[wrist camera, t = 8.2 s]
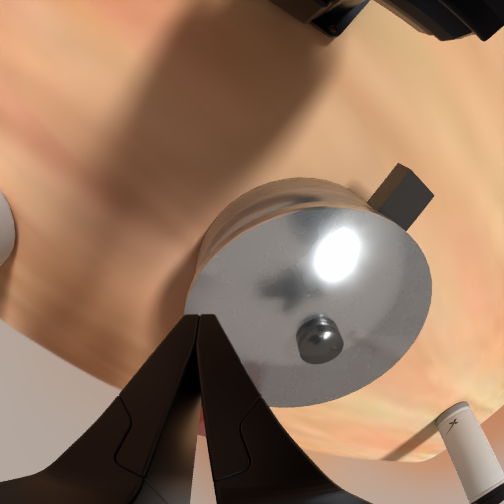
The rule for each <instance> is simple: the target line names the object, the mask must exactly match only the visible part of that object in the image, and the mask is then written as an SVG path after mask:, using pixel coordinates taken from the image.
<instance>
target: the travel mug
mask: <svg viewBox="0 0 504 504" xmlns="http://www.w3.org/2000/svg"><path fill="white" fill-rule="evenodd" d="M436 426H437V428H438V430H439V432H440V434H441V437H442V439H443V441H444V443H445V445H446V448H447V450H448V452H449V454H450V456H451V459H452V461H453V464H454V466H455V468H456V471H457V473H458V475H459V478H460V480H461V483H462V485H463V488H464V490H465V493H466V495H467V498H468V500H470V502H469V503H470V504H499V503H501V502H502V501H503V500H504V473H503V471H502V469H501V467H500V465H499V463H498V460H497V458H496V456H495V454H494V452H493V450H492V448H491V446H490V444H489V442H488V440H487V438H486V436H485V434H484V432H483V430H482V428H481V427H480V425H479V423H478V421H477V419H476V417H475V415H474V413H473V412H472V410H471V408H470V406H469V404H468V403H467V402H460V403H458V404H455V405H453V406H452V407H450V408H449V409H447V410H446V411H445V412H443V413H442V414H441V415H440V416H439V417H438V419H437V421H436Z"/></svg>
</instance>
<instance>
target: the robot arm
mask: <svg viewBox="0 0 504 504" xmlns="http://www.w3.org/2000/svg"><path fill="white" fill-rule="evenodd" d="M269 1H270V2H272V3H274V4H275V5H277V6H278V7H280V8H281V9H283V10H285V11H286V12H288V13H289V14H291V15H292V16H294V17H295V18H296V19H298V20H299V21H301V22H302V23H311V24H312V25H313V26H315V27H316V28H317V29H319V30H320V31H321V32H323V33H324V34H325V35H327V36H328V37H331V38H335V37H338V36H339V35H340V34H341V33H342V32H343V31H344V30H345V29H346V27H347V26H348V25H349V24H350V23H351V22H352V20H353V19H354V18H355V17H356V16H357V15H358V14H359V12H360V11H361V10H362V9H363V8H364V7H365V6H366V4H367V3H368V2H369V1H370V0H269ZM374 1H376V2H377V3H379V4H380V5H382V6H383V7H385V8H386V9H388V10H389V11H391V12H392V13H394V14H395V15H397V16H398V17H400V18H401V19H402V20H404V21H405V22H406V23H408V24H409V25H411V26H412V27H413V28H415V29H416V30H417V31H418V32H422V33H425V34H428V35H434V36H435V37H436V38H437V39H438V40H440V41H448V40H455V39H461V38H464V37H467V36H469V35H473V34H476V35H477V36H478V37H479V38H480V40H482V41H486V40H488V39H489V38H490V37H491V36H492V35H494V34H495V33H496V32H497V31H498V30H499V29H500V28H502V27H503V26H504V0H374ZM330 27H334V28H335V29H336V32H335V33H332V32H331V31H330ZM201 402H202V409H203V417H204V425H205V432H206V439H207V446H208V453H209V459H210V465H211V471H212V478H213V482H214V489H215V495H216V501H217V504H372V503H370V502H368V501H366V500H363V499H361V498H359V497H357V496H355V495H353V494H351V493H349V492H347V491H345V490H344V489H342V488H341V487H339V486H338V485H336V484H335V483H334V482H333V481H332V480H331V479H329V478H328V477H327V476H326V475H325V474H324V473H323V472H322V471H321V470H320V468H319V467H318V466H317V465H316V464H315V463H314V462H313V461H312V460H311V459H310V458H309V457H308V456H307V454H305V453H304V451H303V450H302V449H301V448H300V447H299V446H298V445H297V443H296V442H295V441H294V440H293V439H292V438H291V436H290V435H289V434H288V433H287V432H286V430H285V429H284V428H283V427H282V425H281V424H280V423H279V421H278V420H277V418H276V417H275V415H274V414H273V412H272V411H271V409H270V408H269V406H268V405H267V403H266V401H265V400H264V398H262V395H261V393H260V392H259V390H258V388H257V387H256V385H255V383H254V382H253V380H252V378H251V377H250V375H249V373H248V371H247V370H246V368H245V366H244V365H243V363H242V361H241V359H240V358H239V356H238V354H237V352H236V351H235V349H234V347H233V345H232V344H231V342H230V340H229V338H228V336H227V335H226V333H225V331H224V329H223V327H222V326H221V324H220V322H219V320H218V318H217V317H216V315H215V314H201V315H200V316H199V315H198V314H185V315H184V316H183V317H182V318H181V319H180V320H179V322H178V323H177V324H176V325H175V327H174V328H173V329H172V330H171V331H170V333H169V334H168V335H167V336H166V337H165V339H164V340H163V341H162V342H161V343H160V345H159V346H158V347H157V348H156V350H155V351H154V352H153V353H152V354H151V356H150V357H149V358H148V359H147V361H146V362H145V363H144V364H143V365H142V367H141V368H140V369H139V370H138V372H137V373H136V374H135V375H134V376H133V378H132V379H131V380H130V381H129V383H128V384H127V385H126V386H125V387H124V389H123V390H122V391H121V392H120V394H119V396H117V397H116V398H115V400H114V401H113V402H112V403H111V405H110V406H109V407H108V408H107V409H106V410H105V412H104V413H103V414H102V415H101V416H100V417H99V418H98V420H97V421H96V422H95V423H94V424H93V425H92V426H91V427H90V428H89V429H88V430H87V431H86V432H85V433H84V434H83V435H82V436H81V437H80V438H79V439H78V440H77V441H76V442H74V444H72V445H71V447H69V448H68V449H67V450H66V451H65V452H64V453H63V454H62V455H61V456H60V457H59V458H58V459H57V460H56V461H55V462H53V463H52V464H51V465H50V466H48V467H47V468H45V469H44V470H42V471H40V472H38V473H36V474H34V475H30V476H26V477H22V478H18V479H13V480H8V481H3V482H0V504H190V497H191V486H192V478H193V469H194V460H195V451H196V443H197V434H198V426H199V418H200V410H201Z"/></svg>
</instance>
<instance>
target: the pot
mask: <svg viewBox="0 0 504 504" xmlns="http://www.w3.org/2000/svg"><path fill="white" fill-rule="evenodd" d="M433 197H434V195H433V193H432V192H431V191H430V190H429V189H428V188H427V187H426V186H425V184H424V183H423V182H422V181H421V180H420V179H419V178H418V177H417V176H416V175H415V174H414V173H413V171H412V170H411V169H409V168H407V167H405V166H403V165H401V164H399V163H398V164H397V165H396V166H395V168H394V169H393V170H392V171H391V173H390V174H389V175H388V176H387V178H386V179H385V180H384V182H383V183H382V184H381V185H380V187H379V188H378V189H377V190H376V192H375V193H374V194H373V195H372V197H371V198H370V199H369V200H368V202H367V203H366V202H365V201H364V200H363V199H362V198H361V197H359V196H358V195H357V194H355V193H354V192H352V191H351V190H349V189H347V188H345V187H343V186H341V185H339V184H336V183H333V182H330V181H327V180H321V179H316V178H289V179H282V180H278V181H274V182H270V183H267V184H264V185H262V186H259V187H256V188H254V189H252V190H251V191H249V192H247V193H245V194H243V195H242V196H240V197H239V198H237V199H236V200H235V201H233V202H232V203H231V204H229V205H228V206H227V207H226V208H225V209H224V210H223V211H222V212H221V213H220V214H219V215H218V217H217V218H216V219H215V220H214V222H213V223H212V224H211V226H210V228H209V229H208V231H207V233H206V234H205V236H204V239H203V241H202V244H201V246H200V250H199V254H198V258H197V264H196V271H195V275H196V273H197V271H198V269H199V268H200V266H201V264H202V263H203V262H204V261H205V259H206V258H207V257H208V256H209V254H210V253H211V252H212V251H213V250H214V249H215V248H216V247H217V246H218V245H219V244H220V243H221V242H222V241H223V240H224V239H225V238H226V237H228V236H229V235H231V234H232V233H233V232H235V231H236V230H238V229H239V228H240V227H242V226H243V225H245V224H247V223H249V222H251V221H252V220H254V219H256V218H258V217H260V216H262V215H265V214H267V213H270V212H272V211H275V210H278V209H280V208H284V207H288V206H292V205H296V204H300V203H308V202H317V201H339V202H346V203H352V204H358V205H361V206H364V207H367V208H370V209H373V210H376V211H377V212H379V213H381V214H383V215H385V216H387V217H389V218H390V219H391V220H393V221H394V222H395V223H397V224H398V225H399V226H400V227H401V228H403V229H404V230H405V231H407V230H408V228H409V227H410V226H411V225H412V224H413V222H414V221H415V220H416V219H417V217H418V216H419V215H420V214H421V212H422V211H423V210H424V209H425V207H426V206H427V205H428V203H429V202H430V201H431V200H432V198H433ZM201 407H202V402H201Z"/></svg>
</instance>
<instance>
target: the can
mask: <svg viewBox="0 0 504 504" xmlns="http://www.w3.org/2000/svg"><path fill="white" fill-rule="evenodd" d="M14 241H15V227H14V220H13V216H12V213H11V210H10V206H9V204H8V202H7V200H6V198H5V197H4V195H3V194H2V192H1V191H0V266H1V265H2V264H3V263H4V262H5V261H6V260H7V259H8V258H9V256H10V254H11V252H12V250H13V248H14Z"/></svg>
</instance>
